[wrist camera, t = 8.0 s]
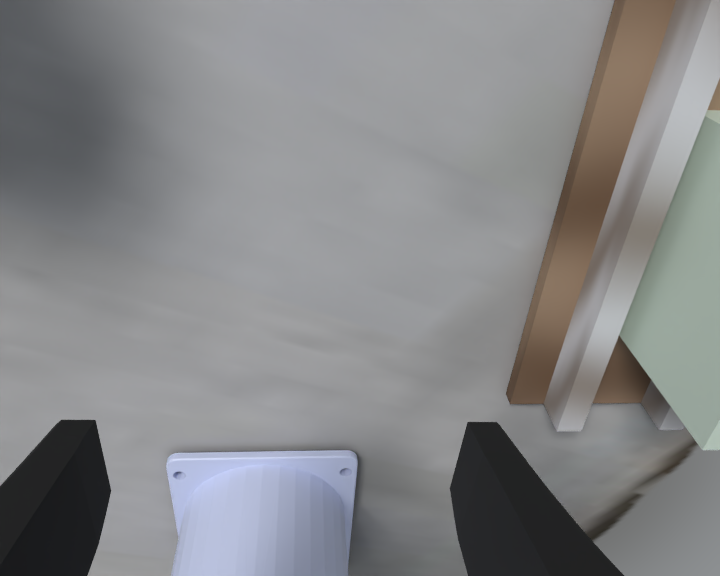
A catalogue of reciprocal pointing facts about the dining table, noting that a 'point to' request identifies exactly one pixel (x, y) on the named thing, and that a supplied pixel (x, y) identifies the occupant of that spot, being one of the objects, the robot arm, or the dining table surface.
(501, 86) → the dining table surface
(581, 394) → the door track
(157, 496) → the dining table surface
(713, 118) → the door panel
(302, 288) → the dining table surface
